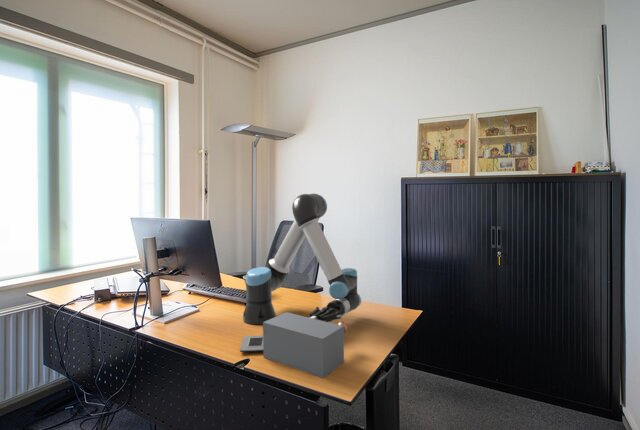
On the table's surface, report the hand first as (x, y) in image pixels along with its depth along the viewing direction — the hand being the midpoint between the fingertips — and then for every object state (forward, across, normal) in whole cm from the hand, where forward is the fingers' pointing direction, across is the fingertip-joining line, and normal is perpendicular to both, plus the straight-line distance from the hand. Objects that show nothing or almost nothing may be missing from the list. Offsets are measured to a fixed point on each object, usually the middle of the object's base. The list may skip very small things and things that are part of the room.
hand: (305, 324), depth 139 cm
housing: (+10, -7, -8) cm, 15 cm away
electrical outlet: (+12, +15, -9) cm, 21 cm away
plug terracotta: (0, -14, -2) cm, 14 cm away
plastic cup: (-35, +66, -8) cm, 75 cm away
